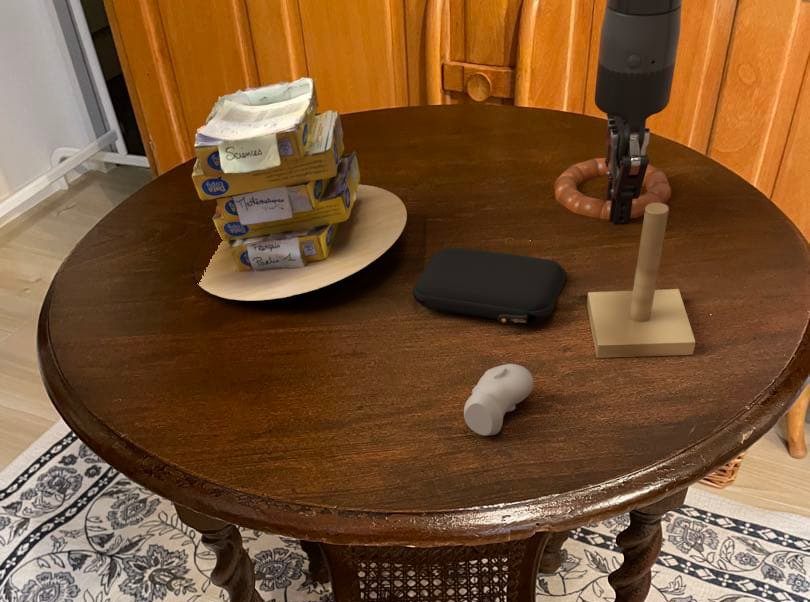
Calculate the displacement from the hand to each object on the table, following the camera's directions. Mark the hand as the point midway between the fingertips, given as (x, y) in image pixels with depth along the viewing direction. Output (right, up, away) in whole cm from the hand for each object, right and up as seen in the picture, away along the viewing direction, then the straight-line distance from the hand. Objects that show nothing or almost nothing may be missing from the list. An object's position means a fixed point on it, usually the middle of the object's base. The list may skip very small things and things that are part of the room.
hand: (616, 219), depth 98 cm
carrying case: (-15, -12, -8) cm, 21 cm away
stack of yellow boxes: (-36, -4, +1) cm, 36 cm away
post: (-1, -16, -13) cm, 21 cm away
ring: (0, +4, +3) cm, 5 cm away
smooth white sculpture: (-16, -25, -20) cm, 36 cm away
